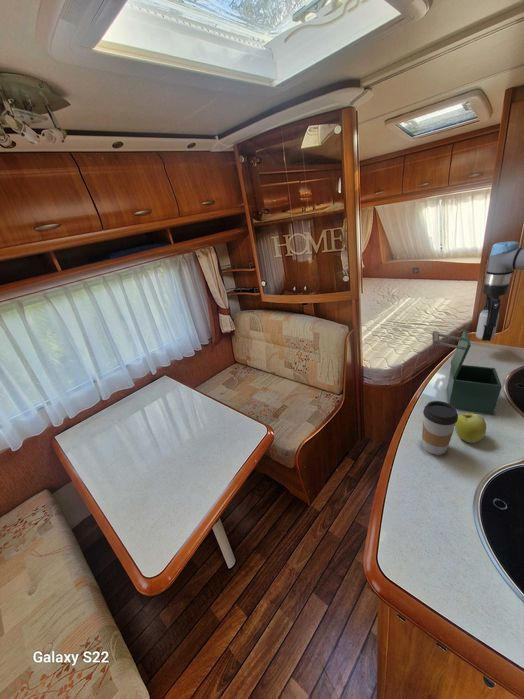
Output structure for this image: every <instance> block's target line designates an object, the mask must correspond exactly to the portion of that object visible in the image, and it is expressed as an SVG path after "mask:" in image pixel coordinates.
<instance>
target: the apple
mask: <svg viewBox="0 0 524 699" xmlns="http://www.w3.org/2000/svg"><path fill="white" fill-rule="evenodd" d="M454 429H455V432H456V434H457V437H459V438H460V439H461V440H463V441H465V442H467V443H477V442H479V441H481V440H482V439H483V438H484V436H485V434H486V431H487V423H486V421H485V419H484V418H483V417H482V416H481V415H480V414H478V413H475V412H463V413H461V414H458V420H457V422H456V423H455V426H454Z"/></svg>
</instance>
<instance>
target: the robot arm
mask: <svg viewBox="0 0 524 699" xmlns="http://www.w3.org/2000/svg"><path fill="white" fill-rule="evenodd" d="M519 245H520V243H519V242H518V241H512V240H511V241H510V240H509V241H499V242H496V243H494V244H493V245H492V247H491V251H490V254H489V259H488V264H487V270H486V273H485V278H484V285H483V289H482V294H483V295H485V301H484V304H483V309H482V310H488V315H487V322H486V325H484V327H485V328H484V333H483V337H482V340H481V341H484V342H491V340H492V339H491V336H492V332H493V328H494V327H495V326H496V321H497V316H498V312H499V313H500V311H499V310H500V308H501V306H502V304H501V298H500V297H501V296H505V295H507V294H508V291H509V286H510V285H509V284H510V281H511V278H513V277H514V275H513V274H512V273H513V270H519V271H524V247H520V246H519Z"/></svg>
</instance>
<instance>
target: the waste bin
mask: <svg viewBox="0 0 524 699" xmlns="http://www.w3.org/2000/svg"><path fill="white" fill-rule="evenodd" d="M502 387H503V386H502V383H501V380H500V377H499V375H498V372H497V370H496V368H495V367H486V366H478V365H467V364H462V366H461V368H460V371H459V373H458V375H457V377H456V379H453V377H452V369H451V368H450V369H449V375H448V380H447V385H446V398H447V403H448V404H450V405H452V406H453V407H454V408H455V409H456V410H459V411H464V412H465V411H466V412H470V413H476V414H482V415H490V416H494V413H495V410H496V407H497V404H498V401H499V398H500V395H501V391H502Z"/></svg>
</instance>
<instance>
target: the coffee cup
mask: <svg viewBox="0 0 524 699" xmlns="http://www.w3.org/2000/svg"><path fill="white" fill-rule="evenodd" d="M457 411H458V410H457V409H455V408H454V407H453V406H452V405H450V404H448V402H446V401H442V400H432V401H429V402H427V403H426V405H424V407H423V411H422V412H423V420H422V433H421V438H422V439H421V444H422V447H423V449H424V450H425V451H426V452H427V453H429V454H432V455H437V456H440V455H443V454H445V453H446V452H447V449H448V446H449V445H450V442H451V439H452V437H453V433H454V430H455V423H456V422H457V420H458V416H459V414H458V412H457Z"/></svg>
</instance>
